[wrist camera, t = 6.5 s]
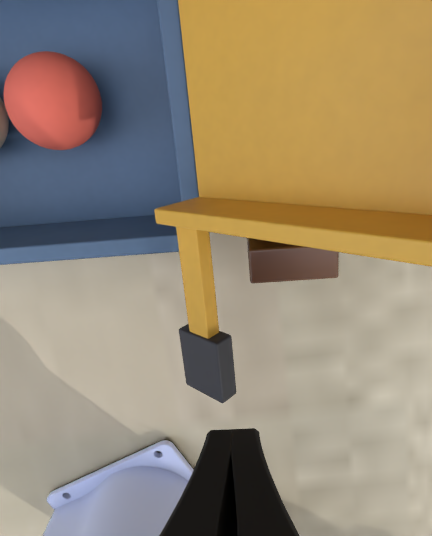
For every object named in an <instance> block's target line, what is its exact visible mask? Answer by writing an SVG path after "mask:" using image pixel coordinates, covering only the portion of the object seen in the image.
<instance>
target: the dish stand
mask: <svg viewBox="0 0 432 536" xmlns="http://www.w3.org/2000/svg"><path fill="white" fill-rule="evenodd" d="M247 245H248V258H249V272H250V281H251V283H264V282H279V281H295V280H310V279H325V278H337V277H338V258H339V252H336V251H329V250H323V249H316V248H310V247H304V246H297V245H291V244H284V243H278V242H271V241H265V240H259V239H252V238H247Z"/></svg>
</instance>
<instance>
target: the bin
mask: <svg viewBox="0 0 432 536" xmlns="http://www.w3.org/2000/svg"><path fill="white" fill-rule="evenodd" d="M43 51H49V52H57V53H61V54H64V55H66V56H68V57H70V58H72V59H74V60H76V61H77V62H78V63H80V64H81V65H82V66H83V67H84V68H85V69H86V70H87V71H88V72H89V73H90V74H91V76H92V77H93V79H94V80H95V82H96V84H97V86H98V89H99V91H100V95H101V100H102V115H101V120H100V123H99V125H98V128H97V129H96V131H95V133H94V134H93V135H92V136H91V137H90V138H89V139H88V140H87V141H86V142H85V143H83V144H81V145H80V146H77V147H75V148H72V149H67V150H52V149H47V148H44V147H41V146H39V145H36V144H34V143H33V142H31V141H30V140H28V139H27V138H26V137H24V136H23V135H22V134H21V133H20V132H19V131H18V130H17V129H16V127H15V126H14V125H13V123H12V121H11V120H10V118H9V116H8V120H9V127H8V134H7V137H6V139H5V142H4V143H3V145H2V146H1V148H0V265H4V264H17V263H31V262H44V261H58V260H72V259H85V258H99V257H112V256H126V255H139V254H153V253H167V252H179V246H178V238H177V231H176V227H175V226H169V225H162V224H157V223H156V219H155V212H154V210H155V209H156V208H159V207H163V206H167V205H171V204H174V203H178V202H182V201H185V200H189V199H193V198H196V197H199V191H198V182H197V173H196V163H195V154H194V145H193V135H192V126H191V117H190V107H189V98H188V89H187V79H186V70H185V61H184V51H183V42H182V33H181V23H180V14H179V5H178V0H0V98H1V99H2V101H3V103H4V85H5V81H6V78H7V75H8V73H9V72H10V70H11V68H12V67H13V66H14V65H15V64H16V63H17V62H18V61H19V60H20V59H22V58H23V57H25V56H27V55H29V54H32V53H36V52H43ZM4 105H5V103H4ZM7 114H8V113H7Z"/></svg>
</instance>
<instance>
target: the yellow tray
mask: <svg viewBox="0 0 432 536" xmlns="http://www.w3.org/2000/svg"><path fill="white" fill-rule="evenodd" d="M178 5H179V14H180V23H181V33H182V42H183V51H184V61H185V70H186V79H187V89H188V98H189V107H190V117H191V126H192V135H193V145H194V154H195V163H196V173H197V182H198V191H199V197H196V198H193V199H189V200H185V201H182V202H178V203H174V204H171V205H167V206H163V207H159V208H156V209H155V210H154V212H155V219H156V223H157V224H162V225H169V226H175V227H176V231H177V238H178V246H179V254H180V262H181V269H182V277H183V285H184V292H185V300H186V308H187V316H188V323H189V324H187V325H186V326H184V327H182V328H180V329H179V334H180V341H181V348H182V355H183V363H184V370H185V377H186V383H187V385H189V386H191V387H193V388H195V389H197V390H198V391H200V392H202V393H204V394H206V395H208V396H210V397H212V398H213V399H215V400H217V401H219V402H221V403H224V402H225V401H227V400H228V399H229V398H231V397H232V396H233V395H234V394H236V383H235V372H234V361H233V350H232V339H231V335H229V334H226V333H223V332H221V331H219V325H218V315H217V306H216V296H215V286H214V276H213V266H212V256H211V247H210V237H209V232H214V233H220V234H227V235H233V236H239V237H246V238H252V239H259V240H265V241H271V242H278V243H284V244H291V245H297V246H304V247H310V248H316V249H323V250H329V251H336V252H342V253H348V254H355V255H361V256H368V257H374V258H380V259H387V260H393V261H400V262H406V263H413V264H419V265H425V266H432V0H178Z"/></svg>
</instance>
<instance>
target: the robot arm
mask: <svg viewBox="0 0 432 536" xmlns="http://www.w3.org/2000/svg"><path fill="white" fill-rule="evenodd" d="M156 451H160V452H161V453H158V452H156ZM47 502H48V503H49V504H50V506H51V507H52V508H53V509H54V512H53V514H52V517H51V519H50V521H49V523H48V525H47V527H46V529H45V532H44V534H43V536H299V534H298V532H297V530H296V528H295V526H294V524H293V522H292V520H291V518H290V516H289V514H288V512H287V510H286V508H285V506H284V504H283V502H282V500H281V498H280V495H279V493H278V491H277V488H276V486H275V484H274V481H273V479H272V476H271V474H270V471H269V469H268V466H267V463H266V460H265V457H264V454H263V450H262V446H261V442H260V437H259V431H257V430H256V429H231V430H211V431H210V432H209V433H208V434H207V437H206V440H205V443H204V446H203V449H202V451H201V454H200V456H199V459H198V461H197V463H196V466H195V468H194V470H193V468H192V467H191V466H190V465H189V463H188V462H187V461H186V459H185V458H184V457H183V456H182V454H181V453H180V452H179V451H178V449H177V448H176V447H175V445H174V444H173V443H172V442H170V441H168V440H163V441H160V442H158V443H156V444H154V445H151V446H149V447H147V448H145V449H143V450H141V451H138V452H136V453H134V454H132V455H130V456H128V457H125V458H123V459H121V460H119V461H117V462H115V463H112V464H110V465H108V466H106V467H104V468H102V469H99V470H97V471H95V472H93V473H91V474H89V475H86V476H84V477H82V478H80V479H78V480H76V481H73V482H71V483H69V484H67V485H65V486H63V487H60V488H58V489H56V490H54V491H52V492H50V494H49V496H48V498H47Z"/></svg>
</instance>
